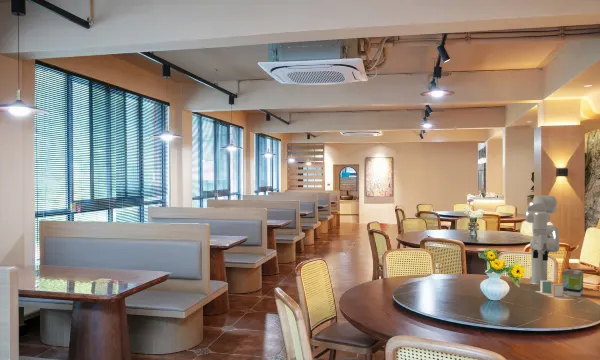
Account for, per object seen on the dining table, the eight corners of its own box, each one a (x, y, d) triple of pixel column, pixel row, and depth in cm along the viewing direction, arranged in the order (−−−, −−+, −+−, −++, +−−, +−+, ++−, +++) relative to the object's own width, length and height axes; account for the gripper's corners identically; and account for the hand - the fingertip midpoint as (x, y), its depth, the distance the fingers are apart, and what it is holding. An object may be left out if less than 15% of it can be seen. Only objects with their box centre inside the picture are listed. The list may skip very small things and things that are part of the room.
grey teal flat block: (540, 291, 280) (540, 280, 280) (549, 291, 280) (549, 280, 280) (542, 292, 278) (542, 281, 278) (551, 292, 278) (551, 281, 279)
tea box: (580, 298, 268) (580, 273, 269) (561, 296, 274) (561, 271, 275) (583, 294, 280) (583, 270, 281) (564, 292, 286) (564, 268, 287)
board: (534, 293, 282) (534, 291, 282) (551, 293, 283) (551, 291, 283) (557, 301, 260) (557, 299, 260) (575, 301, 261) (575, 299, 261)
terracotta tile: (551, 296, 269) (551, 284, 269) (561, 296, 269) (561, 284, 270) (553, 296, 267) (553, 284, 267) (563, 296, 267) (563, 284, 268)
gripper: (526, 230, 295) (526, 257, 294) (543, 233, 277) (543, 261, 277) (537, 230, 295) (537, 257, 295) (554, 233, 278) (554, 261, 278)
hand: (540, 259), depth 286 cm, fingers open, 9 cm apart
